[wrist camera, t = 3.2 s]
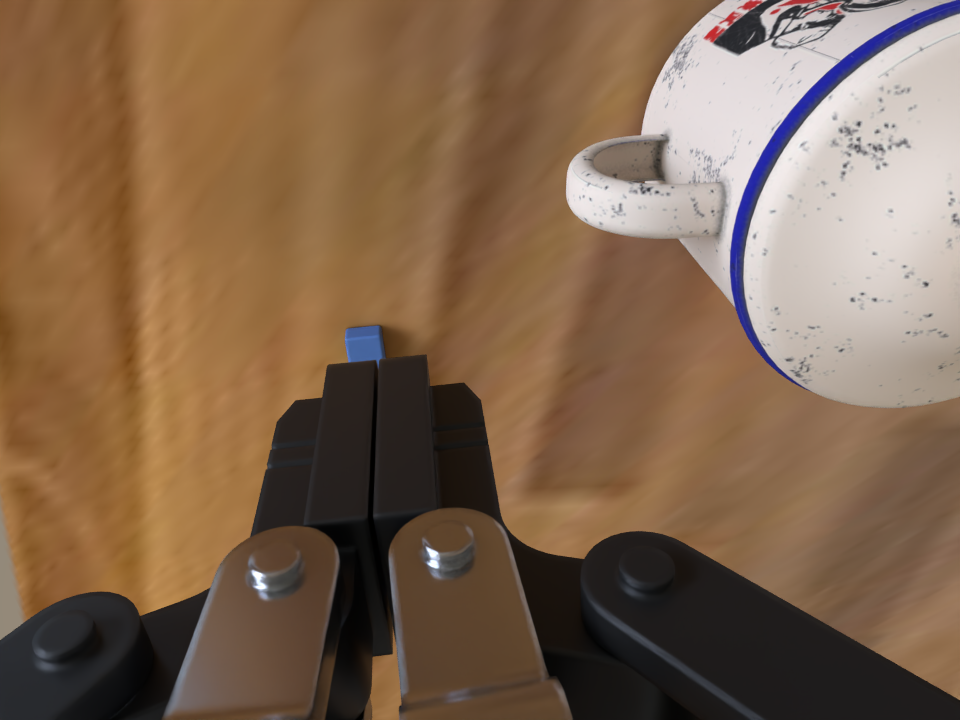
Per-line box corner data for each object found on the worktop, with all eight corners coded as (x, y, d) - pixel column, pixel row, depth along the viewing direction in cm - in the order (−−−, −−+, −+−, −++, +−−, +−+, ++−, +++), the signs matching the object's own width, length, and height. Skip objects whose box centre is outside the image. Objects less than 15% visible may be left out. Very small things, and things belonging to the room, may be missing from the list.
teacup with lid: (959, -42, 22) (1440, 7, 12) (876, 256, 26) (1168, 472, 16) (540, -35, 21) (671, 26, 11) (531, 272, 25) (617, 512, 15)
